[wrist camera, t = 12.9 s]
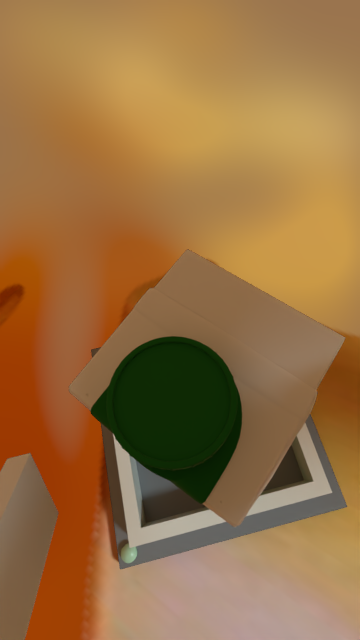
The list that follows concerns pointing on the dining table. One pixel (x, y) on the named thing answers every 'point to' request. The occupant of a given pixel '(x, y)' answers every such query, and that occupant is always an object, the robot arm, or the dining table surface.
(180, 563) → the dining table surface
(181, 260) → the soya milk
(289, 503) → the dock
